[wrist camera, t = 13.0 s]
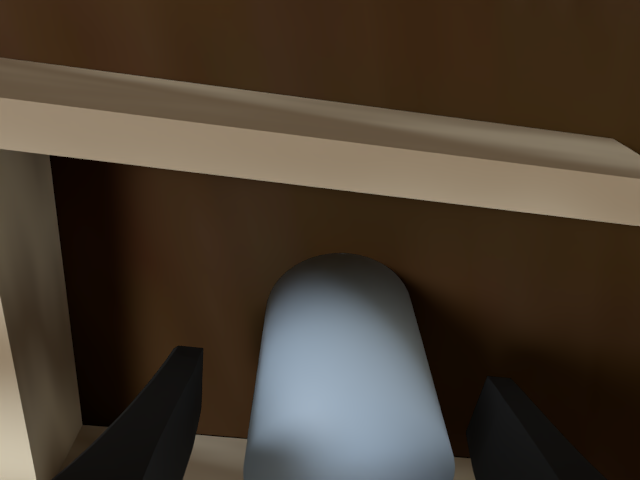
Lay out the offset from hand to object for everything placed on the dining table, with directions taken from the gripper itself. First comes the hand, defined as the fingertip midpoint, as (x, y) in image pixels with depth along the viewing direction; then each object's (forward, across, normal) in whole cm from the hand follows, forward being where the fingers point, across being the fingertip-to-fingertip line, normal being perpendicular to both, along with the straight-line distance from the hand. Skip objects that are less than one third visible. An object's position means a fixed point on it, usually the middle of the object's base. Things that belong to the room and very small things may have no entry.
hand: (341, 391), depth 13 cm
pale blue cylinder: (+3, 0, 0) cm, 3 cm away
